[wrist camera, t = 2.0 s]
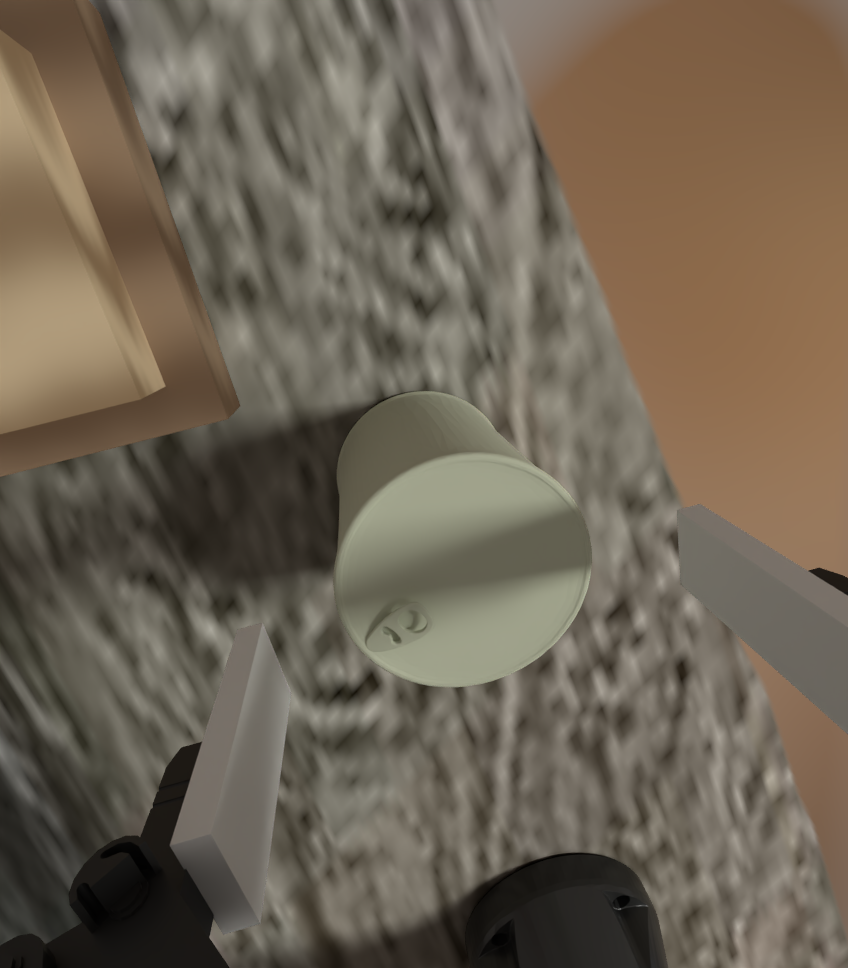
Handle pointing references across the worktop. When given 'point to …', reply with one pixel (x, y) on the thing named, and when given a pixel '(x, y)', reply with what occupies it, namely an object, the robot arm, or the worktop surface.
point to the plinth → (131, 240)
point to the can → (452, 545)
